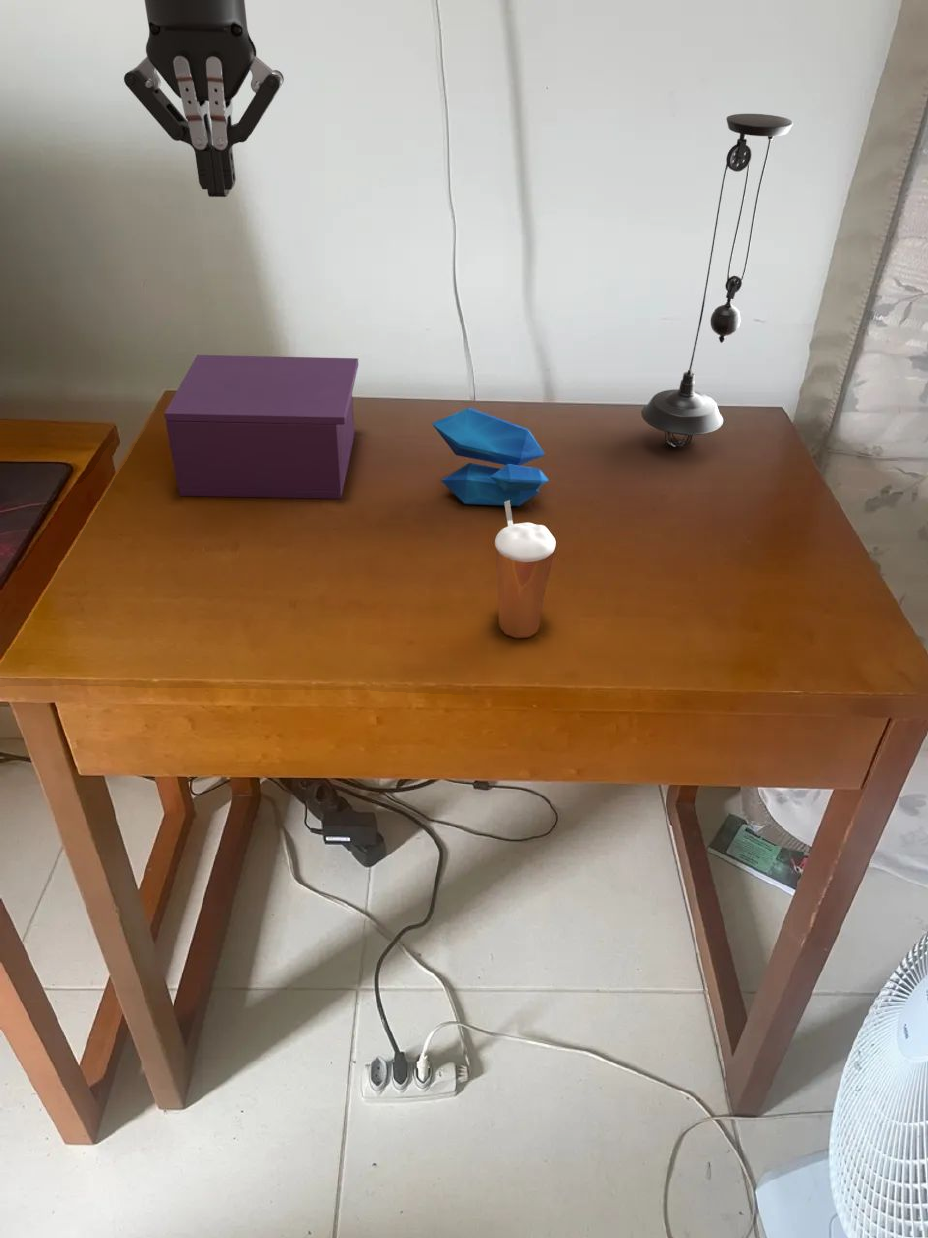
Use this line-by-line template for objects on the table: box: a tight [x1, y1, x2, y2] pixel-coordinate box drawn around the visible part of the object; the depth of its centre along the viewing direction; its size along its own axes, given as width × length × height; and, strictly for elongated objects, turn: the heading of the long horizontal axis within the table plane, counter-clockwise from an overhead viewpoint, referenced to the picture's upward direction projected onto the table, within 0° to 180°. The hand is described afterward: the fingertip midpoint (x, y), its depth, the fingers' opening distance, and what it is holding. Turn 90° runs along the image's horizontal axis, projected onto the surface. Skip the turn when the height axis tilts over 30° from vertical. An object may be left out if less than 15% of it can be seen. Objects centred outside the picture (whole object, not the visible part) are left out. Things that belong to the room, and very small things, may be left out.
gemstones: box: [431, 407, 550, 507], centre depth 93 cm, size 7×9×12 cm
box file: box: [165, 395, 355, 500], centre depth 97 cm, size 16×14×8 cm
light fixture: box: [640, 113, 794, 448], centre depth 95 cm, size 10×8×31 cm
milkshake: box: [494, 501, 557, 639], centre depth 76 cm, size 4×5×10 cm
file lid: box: [164, 354, 359, 425], centre depth 95 cm, size 16×14×1 cm
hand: (219, 194), depth 84 cm, fingers closed
